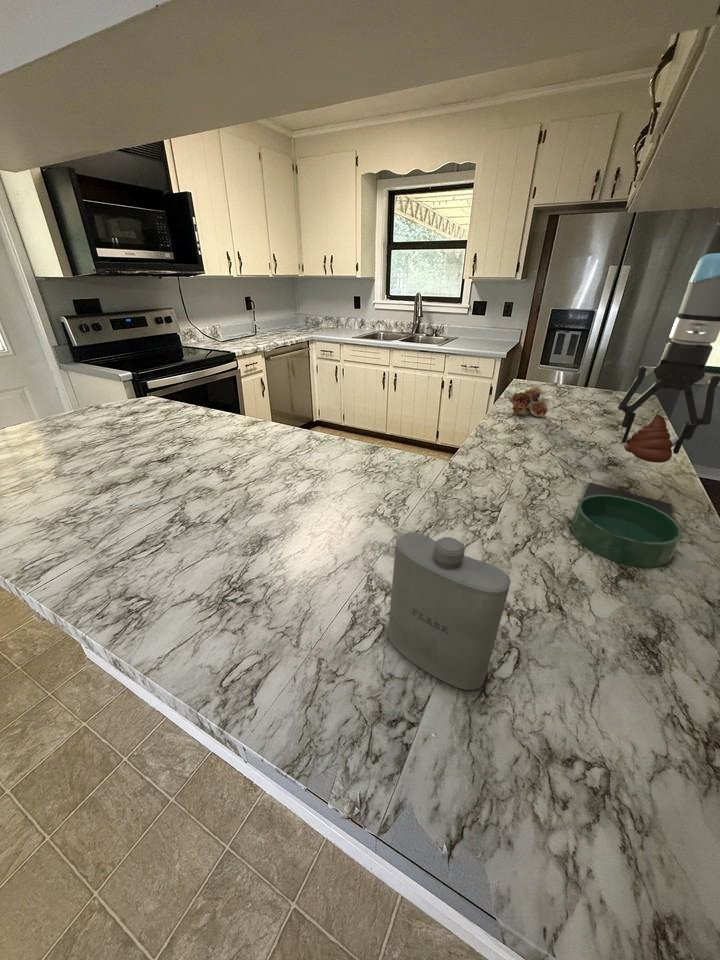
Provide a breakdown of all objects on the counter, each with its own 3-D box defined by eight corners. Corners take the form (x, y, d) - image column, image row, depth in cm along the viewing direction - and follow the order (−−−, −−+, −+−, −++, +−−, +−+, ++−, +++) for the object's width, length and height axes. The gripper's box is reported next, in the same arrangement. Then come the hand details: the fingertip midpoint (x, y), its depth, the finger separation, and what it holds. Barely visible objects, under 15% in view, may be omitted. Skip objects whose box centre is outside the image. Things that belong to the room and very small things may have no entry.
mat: (670, 505, 97) (671, 503, 96) (670, 528, 88) (671, 526, 88) (589, 484, 106) (589, 482, 105) (581, 502, 97) (582, 500, 97)
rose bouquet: (495, 396, 155) (532, 393, 143) (515, 381, 163) (551, 377, 152) (502, 427, 159) (539, 426, 148) (521, 411, 168) (557, 408, 156)
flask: (377, 641, 59) (385, 530, 49) (399, 618, 63) (410, 511, 53) (472, 703, 50) (503, 584, 41) (490, 672, 55) (521, 557, 45)
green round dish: (671, 534, 86) (681, 512, 83) (671, 581, 72) (683, 557, 70) (578, 506, 95) (585, 486, 92) (563, 543, 81) (570, 521, 79)
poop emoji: (614, 446, 94) (627, 408, 90) (647, 446, 95) (662, 408, 91) (643, 464, 86) (660, 423, 81) (680, 464, 86) (698, 423, 82)
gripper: (625, 338, 82) (592, 439, 92) (766, 351, 71) (711, 464, 81) (628, 334, 87) (597, 430, 98) (759, 346, 76) (708, 453, 87)
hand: (648, 446), depth 89 cm, fingers closed on poop emoji, 9 cm apart
